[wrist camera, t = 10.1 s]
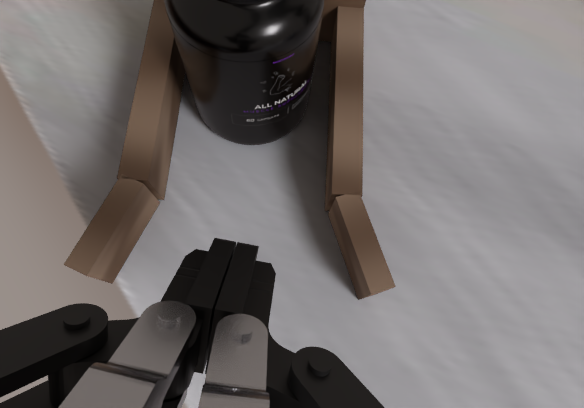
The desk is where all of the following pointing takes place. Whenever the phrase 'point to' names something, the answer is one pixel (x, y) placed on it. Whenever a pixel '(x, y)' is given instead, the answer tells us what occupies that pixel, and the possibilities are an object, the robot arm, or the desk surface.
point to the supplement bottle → (248, 62)
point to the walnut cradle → (160, 137)
